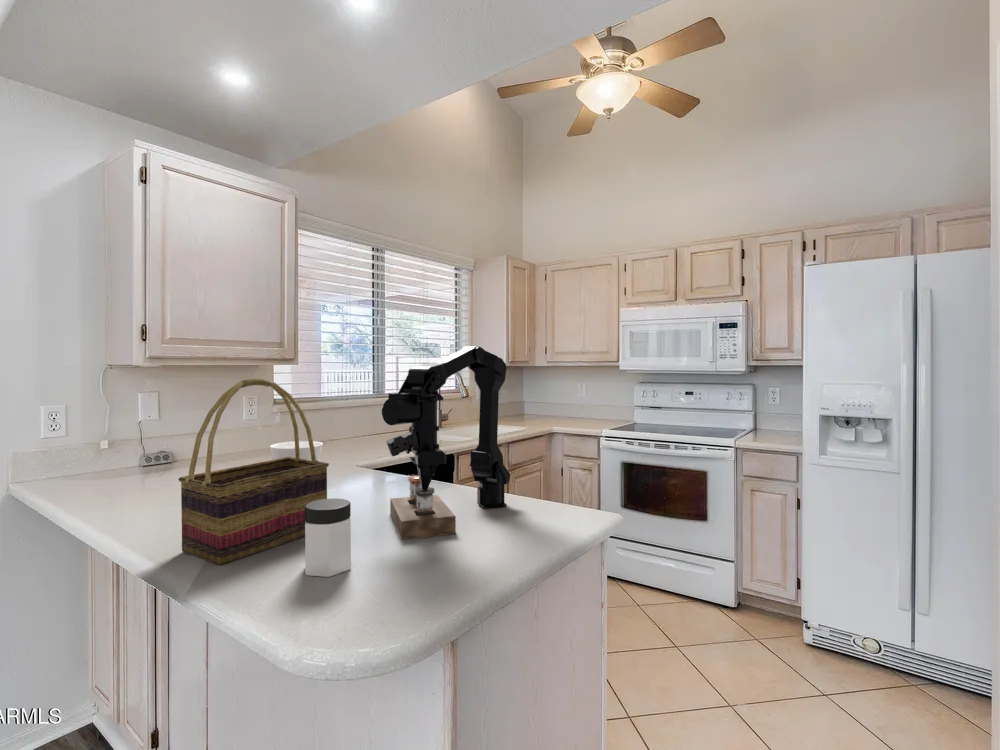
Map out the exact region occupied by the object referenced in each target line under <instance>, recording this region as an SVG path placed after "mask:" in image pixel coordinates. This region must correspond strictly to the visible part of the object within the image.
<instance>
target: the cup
mask: <svg viewBox="0 0 1000 750" xmlns="http://www.w3.org/2000/svg"><path fill="white" fill-rule="evenodd" d="M313 444H314V449H315V456H316V460H317V461H319V462H320V459H321V455H322V450H323V446H324V445H323V444H324V443H323V442H321V441H315V440H313ZM269 449H270V450H269V451H270V453H271V454H270V455H271V458H272V459H271V460H274V459H279V458H284V457H295V456H296V455H295V440H294V441H285V442H284V441H283V442H277V443H273V444H271V445H269ZM299 453H300V458H301V459H306V460H311V452H310V447H309V442H308V440H299Z"/></svg>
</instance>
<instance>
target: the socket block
mask: <svg viewBox="0 0 1000 750" xmlns="http://www.w3.org/2000/svg"><path fill="white" fill-rule="evenodd" d="M389 500H390V501H389V504H390V505H389V507H390V508H389V509H390V510H389V511H390V512H389V514H390V516H391V519H392V521H393V524H394V526H395V528H396V530H397V533H398V535H399V537H400V540H401V541H402V540H405V541H406V540H410V539H411V540H413V539H421V538H422V539H423V538H430V537H439V536H449V535H456V533H457V532H456V531H457V530H456V529H457V527H456V525H457V524H456V522H457V521H456V515H455V513H454V512H453V511H452V510H451V509H450V508H449V507H448V505H447V504H446V503H445V502H444V501H443V499H441V498H440V496H439V495H438V494H433V515H423V516H417V504H410V496H405V497H403V496H402V497H393V498H389Z"/></svg>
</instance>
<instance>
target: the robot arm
mask: <svg viewBox="0 0 1000 750" xmlns="http://www.w3.org/2000/svg"><path fill="white" fill-rule="evenodd" d="M466 368H468V369H469V370H470V371H472V373H474V382H475V383H476V385H477V387H478V388H479V389H478V390H479V418H478V421H479V423H478V424H479V425H478V445H477V446H476V448H475V450H471V451H470V453H469V454H470V463H469V467H470V469H471V473H472V477H473V480H474V482H478V487H477V490H476V491H477V494H476V495H477V498H476V500H477V501H476V502H477V504H478V505H480V507H482V508H483V509H489V508H490V509H491V508H501V507H507V506H508V505H507V503H505V485H508V483H509V482H510V479H511V473H510V472H509V470H508V469H507V467H506V466H505V464H504V455H503V453H502V451H501V449H500V448H499V445H498V430H499V428H498V427H499V394H500V389H501V388H502V386H503V384H504V383H505V382H506V375H507V364H506V362H505V361H504V360H503V358H501V357H499V356H497V355H496V354H495V353H494V354H493V353H491V352H490V351H487V350H485V349H484V348H483V347H481V346H480V345H465V346H464V347H462V348H461V349H459V350H458V351H456V352H454V353H451V354H450V355H448V356H445V357H444V358H441V359H440V360H438V361H436V362H432V363H426V364H419V365H415V366H412V367H411V368H409V370H408V371H407V376H406V377H405V379H404V382H403V383H402V385H401V387H400V389H399V390H398V393H397V392H396V393H394V392H391V393H388V399H387V400H385V401H384V403H383V406H382V407H381V417H382V418H383V421H384V422H385V424H387V425H388V426H396V425H404V424H405V425H406V424H411V425H410V426H409V427H408V432H405V433H401V434H399V435H398V436H394V437H392V438H390V439H387V440H386V441H385V443H386V445H387V449H388V451H389V454H390V455H391V456H392V457H396V456H399V455H400V454H401V453H404V452H405V453H406V454H410V453H412V456H410V457H409V459H410V461H411V462H412V463H413V464H414V465H415V466H416V468H417V473H418V475H419V477H420V482H421V486H422V489H423V490H427V489H428V487H430V485H431V482H432V480H433V477H434V475H435V473H436V472H437V469H438V466H439V465H445V464H446V465H447V462H448V461H447V454H446V453H445V452H444V451H443V450H442V449H440V444H439V443H438V431H440V426H439V425H438V402H440V401H443V400H444V397H443V396H442V395H441V394H440V393H439V390H440V389H441V388H442V387H443V386H444V385H446V383H447V380H448V379H449V377H452V376H453V375H455V374H456V373H458V372H461V371H462V370H464V369H466Z"/></svg>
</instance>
